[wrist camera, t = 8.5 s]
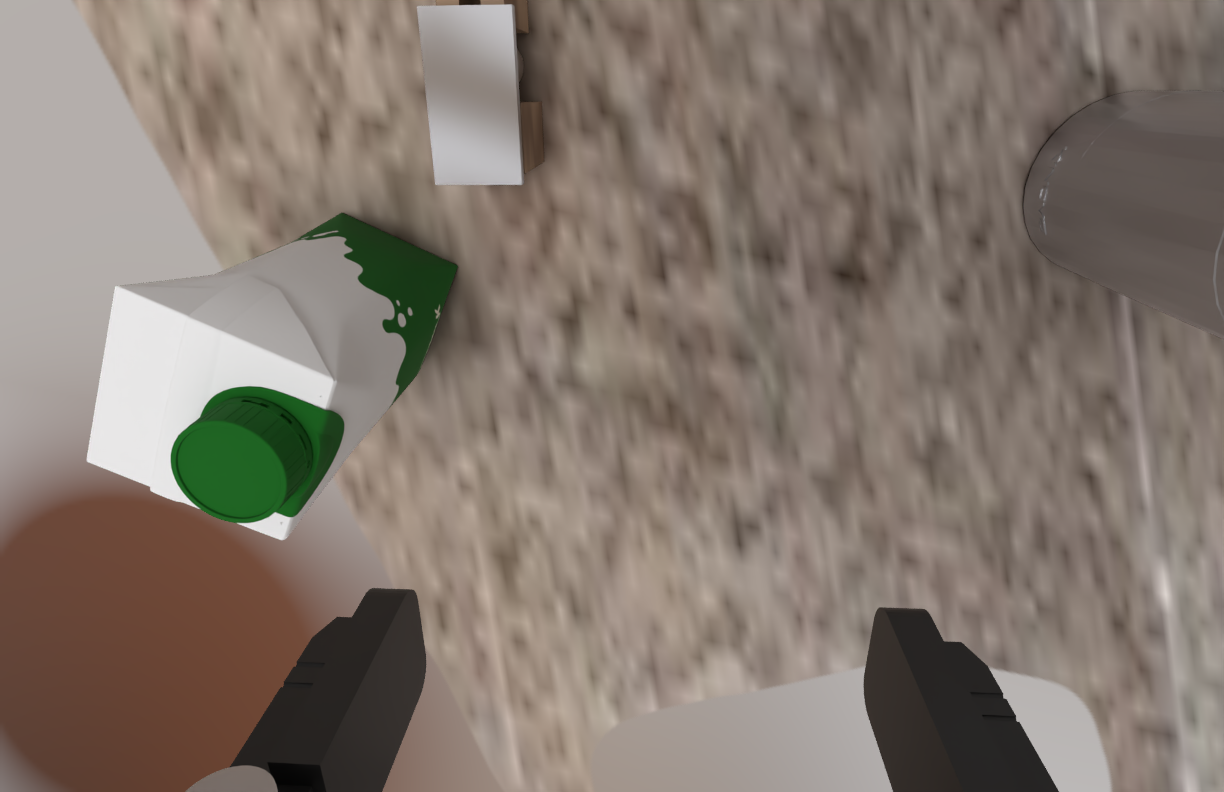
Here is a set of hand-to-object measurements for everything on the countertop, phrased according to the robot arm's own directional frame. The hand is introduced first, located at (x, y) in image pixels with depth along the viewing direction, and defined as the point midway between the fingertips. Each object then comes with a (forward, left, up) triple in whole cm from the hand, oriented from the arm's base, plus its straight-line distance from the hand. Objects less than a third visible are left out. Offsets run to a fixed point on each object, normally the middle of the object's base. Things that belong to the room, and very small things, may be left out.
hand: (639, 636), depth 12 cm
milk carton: (+16, +2, -30) cm, 34 cm away
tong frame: (+8, -15, -30) cm, 34 cm away
